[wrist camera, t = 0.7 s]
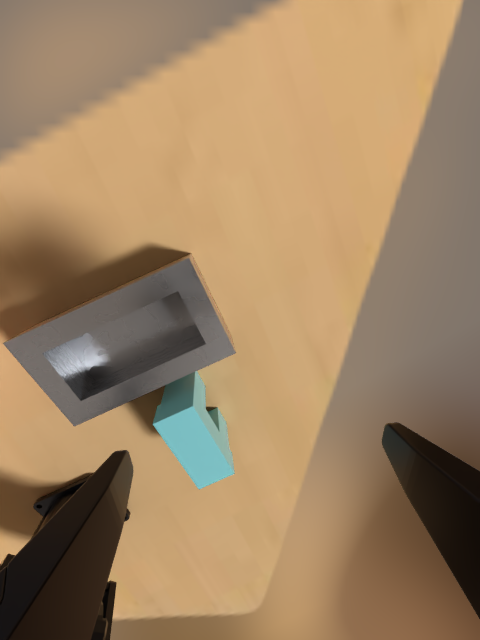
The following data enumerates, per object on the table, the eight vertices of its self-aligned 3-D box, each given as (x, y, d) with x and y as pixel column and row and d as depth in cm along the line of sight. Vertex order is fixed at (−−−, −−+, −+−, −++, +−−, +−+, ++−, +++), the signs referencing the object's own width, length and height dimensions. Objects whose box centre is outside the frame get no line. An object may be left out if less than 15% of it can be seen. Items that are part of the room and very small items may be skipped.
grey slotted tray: (93, 397, 22) (74, 426, 19) (35, 324, 20) (2, 343, 17) (231, 335, 22) (235, 353, 19) (191, 253, 20) (189, 257, 16)
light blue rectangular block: (228, 423, 25) (234, 473, 20) (199, 436, 25) (199, 489, 20) (195, 366, 23) (192, 406, 18) (163, 380, 23) (152, 424, 18)
